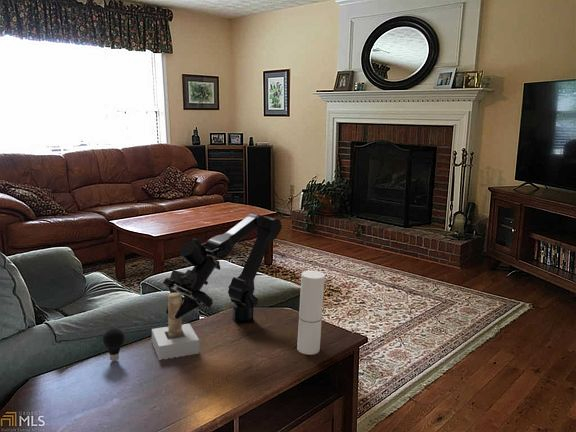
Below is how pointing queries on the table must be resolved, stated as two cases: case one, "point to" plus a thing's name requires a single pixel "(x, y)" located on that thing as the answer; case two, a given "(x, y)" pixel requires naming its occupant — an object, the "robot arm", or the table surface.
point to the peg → (173, 308)
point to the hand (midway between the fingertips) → (171, 316)
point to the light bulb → (113, 342)
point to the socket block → (175, 342)
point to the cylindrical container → (310, 312)
